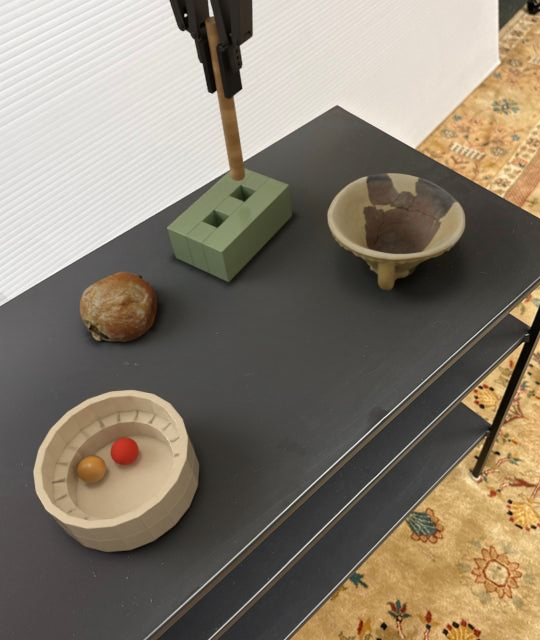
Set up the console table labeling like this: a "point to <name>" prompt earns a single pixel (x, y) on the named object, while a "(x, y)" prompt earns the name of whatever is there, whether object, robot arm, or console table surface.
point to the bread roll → (118, 307)
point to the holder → (230, 223)
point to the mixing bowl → (118, 471)
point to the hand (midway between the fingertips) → (225, 90)
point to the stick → (226, 109)
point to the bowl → (395, 223)
